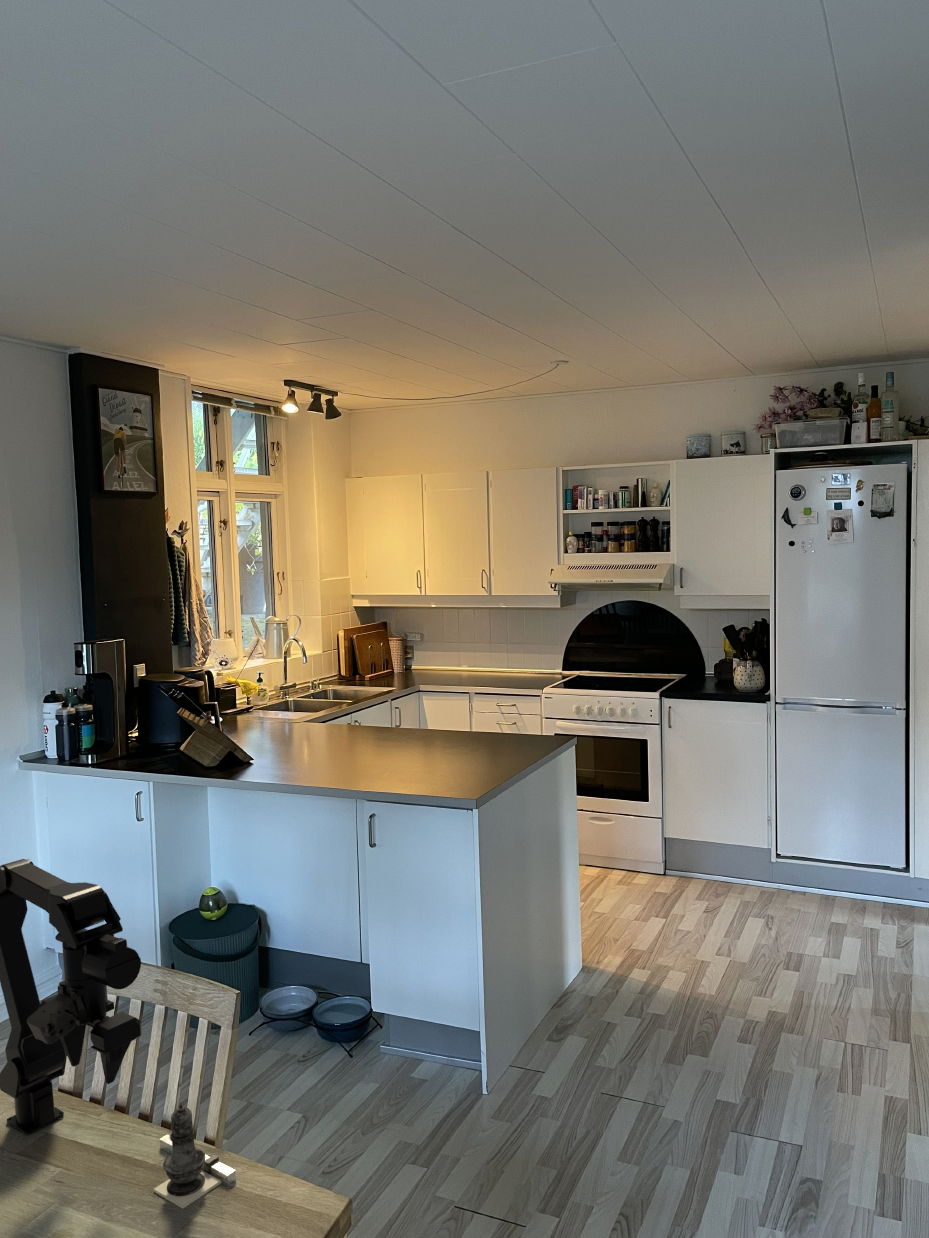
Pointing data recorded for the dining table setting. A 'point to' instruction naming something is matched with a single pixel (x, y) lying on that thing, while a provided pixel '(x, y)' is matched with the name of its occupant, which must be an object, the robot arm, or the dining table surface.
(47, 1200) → the dining table surface
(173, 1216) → the dining table surface
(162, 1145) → the white rectangular bar
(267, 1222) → the dining table surface
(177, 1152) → the dark grey tiered figure
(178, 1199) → the groove pad
